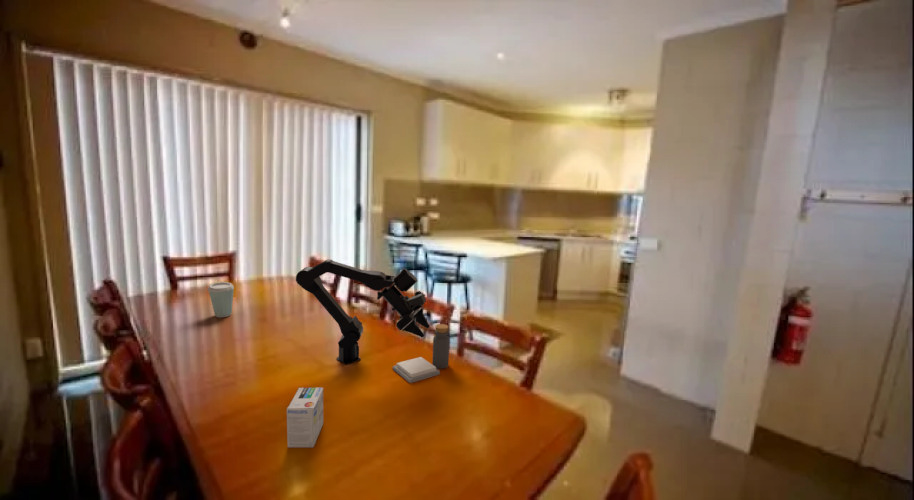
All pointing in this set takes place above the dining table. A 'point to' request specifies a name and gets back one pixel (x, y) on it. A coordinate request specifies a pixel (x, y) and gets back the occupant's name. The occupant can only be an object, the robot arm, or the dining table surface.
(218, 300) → the disposable coffee cup
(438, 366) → the bottle
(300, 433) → the light bulb box
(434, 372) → the pedestal
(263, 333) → the dining table surface
